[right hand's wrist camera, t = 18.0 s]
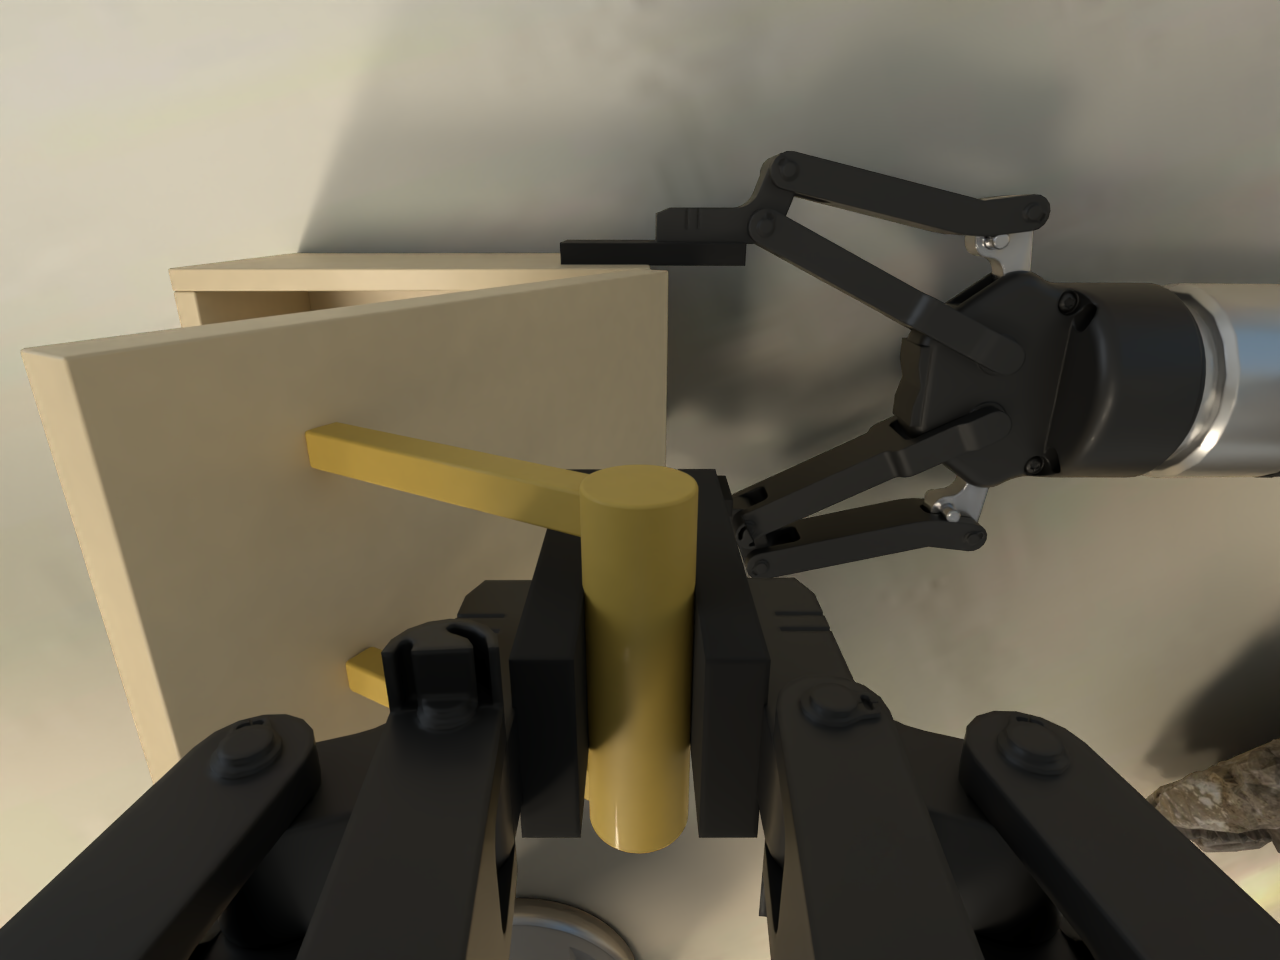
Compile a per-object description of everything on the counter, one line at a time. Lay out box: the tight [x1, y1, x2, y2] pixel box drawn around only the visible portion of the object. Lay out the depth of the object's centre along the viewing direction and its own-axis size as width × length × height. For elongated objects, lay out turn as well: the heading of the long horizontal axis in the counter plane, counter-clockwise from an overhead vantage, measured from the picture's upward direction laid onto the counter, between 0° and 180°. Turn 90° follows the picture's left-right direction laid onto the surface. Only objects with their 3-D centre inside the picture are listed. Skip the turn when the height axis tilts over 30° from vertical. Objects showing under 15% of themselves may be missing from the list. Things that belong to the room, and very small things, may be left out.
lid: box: [21, 269, 698, 853], centre depth 16 cm, size 17×9×8 cm
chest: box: [169, 253, 651, 328], centre depth 29 cm, size 16×9×9 cm, turn 90°
